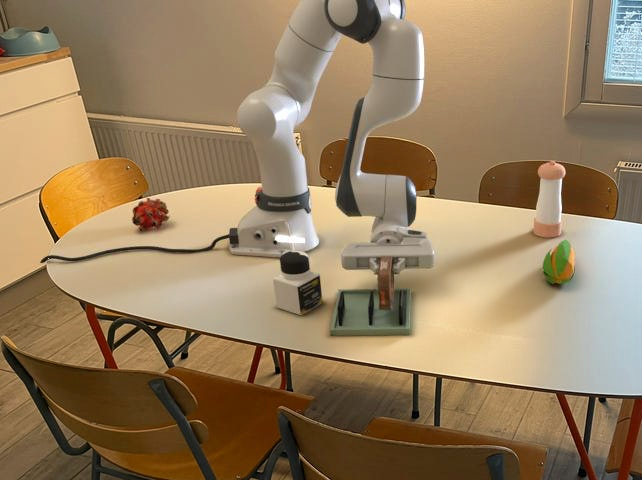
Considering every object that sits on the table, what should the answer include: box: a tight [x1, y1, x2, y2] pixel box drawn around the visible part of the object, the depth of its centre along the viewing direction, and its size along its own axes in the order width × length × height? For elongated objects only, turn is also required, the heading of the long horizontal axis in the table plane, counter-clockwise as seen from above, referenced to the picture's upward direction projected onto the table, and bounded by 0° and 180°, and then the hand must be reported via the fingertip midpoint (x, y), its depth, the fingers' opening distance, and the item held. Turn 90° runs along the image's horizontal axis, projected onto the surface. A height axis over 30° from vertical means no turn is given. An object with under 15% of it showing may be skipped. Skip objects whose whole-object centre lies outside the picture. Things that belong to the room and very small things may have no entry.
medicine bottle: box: [272, 251, 323, 316], centre depth 158 cm, size 7×7×12 cm
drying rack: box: [329, 288, 412, 337], centre depth 156 cm, size 16×19×5 cm
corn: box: [542, 239, 576, 286], centre depth 173 cm, size 7×8×20 cm
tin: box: [377, 256, 395, 311], centre depth 154 cm, size 15×3×8 cm, turn 1°
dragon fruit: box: [131, 197, 171, 232], centre depth 198 cm, size 8×8×12 cm
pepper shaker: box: [533, 160, 566, 239], centre depth 193 cm, size 7×7×19 cm
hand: (386, 271), depth 156 cm, fingers closed on tin, 2 cm apart
